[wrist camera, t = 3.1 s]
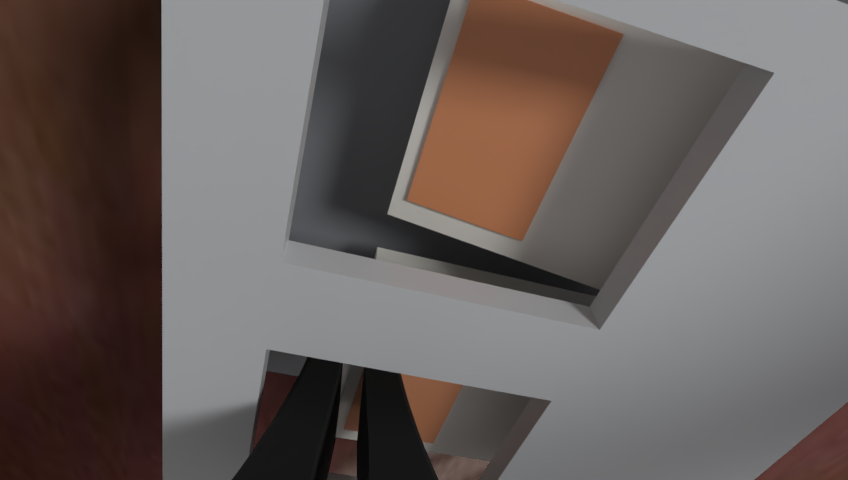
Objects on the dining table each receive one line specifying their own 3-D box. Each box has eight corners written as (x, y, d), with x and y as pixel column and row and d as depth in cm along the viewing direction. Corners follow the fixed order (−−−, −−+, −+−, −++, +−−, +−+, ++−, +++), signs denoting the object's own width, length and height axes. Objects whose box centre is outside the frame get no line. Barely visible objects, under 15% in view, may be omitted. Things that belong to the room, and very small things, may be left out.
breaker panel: (897, 19, 12) (1299, 123, 7) (617, 382, 20) (697, 573, 14) (278, -214, 10) (96, -359, 4) (228, 306, 17) (140, 504, 12)
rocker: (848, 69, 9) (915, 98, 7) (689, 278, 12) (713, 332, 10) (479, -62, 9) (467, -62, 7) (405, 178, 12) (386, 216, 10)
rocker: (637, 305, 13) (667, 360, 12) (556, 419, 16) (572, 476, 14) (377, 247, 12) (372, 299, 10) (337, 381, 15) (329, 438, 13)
